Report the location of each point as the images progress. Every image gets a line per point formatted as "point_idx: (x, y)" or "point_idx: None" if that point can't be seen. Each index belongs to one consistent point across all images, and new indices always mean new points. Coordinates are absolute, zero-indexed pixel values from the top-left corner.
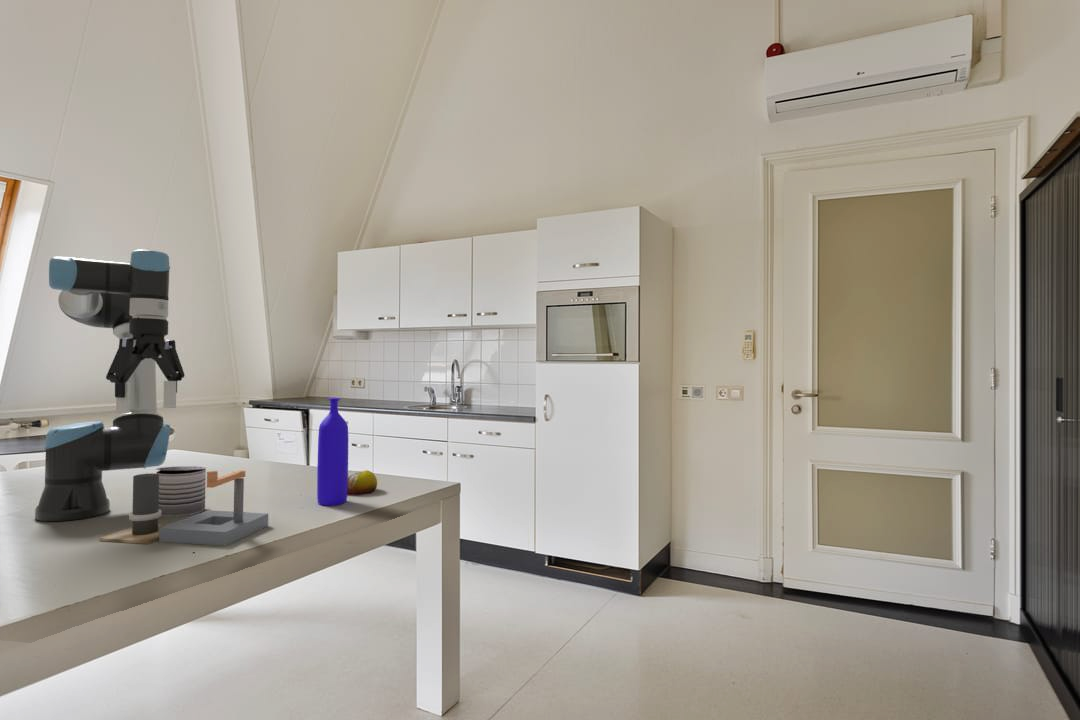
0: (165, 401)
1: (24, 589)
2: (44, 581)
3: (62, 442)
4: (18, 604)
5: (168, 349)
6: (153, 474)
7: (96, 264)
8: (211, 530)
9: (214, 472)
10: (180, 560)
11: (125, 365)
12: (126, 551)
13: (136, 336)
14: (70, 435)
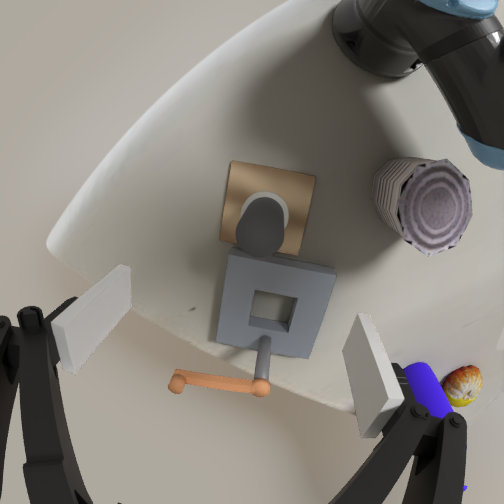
0: (359, 336)
1: (80, 206)
2: (96, 208)
3: None
4: (59, 228)
5: None
6: (272, 243)
7: None
8: (221, 325)
9: (171, 391)
10: (166, 306)
11: (8, 415)
12: (188, 229)
13: None
14: None
